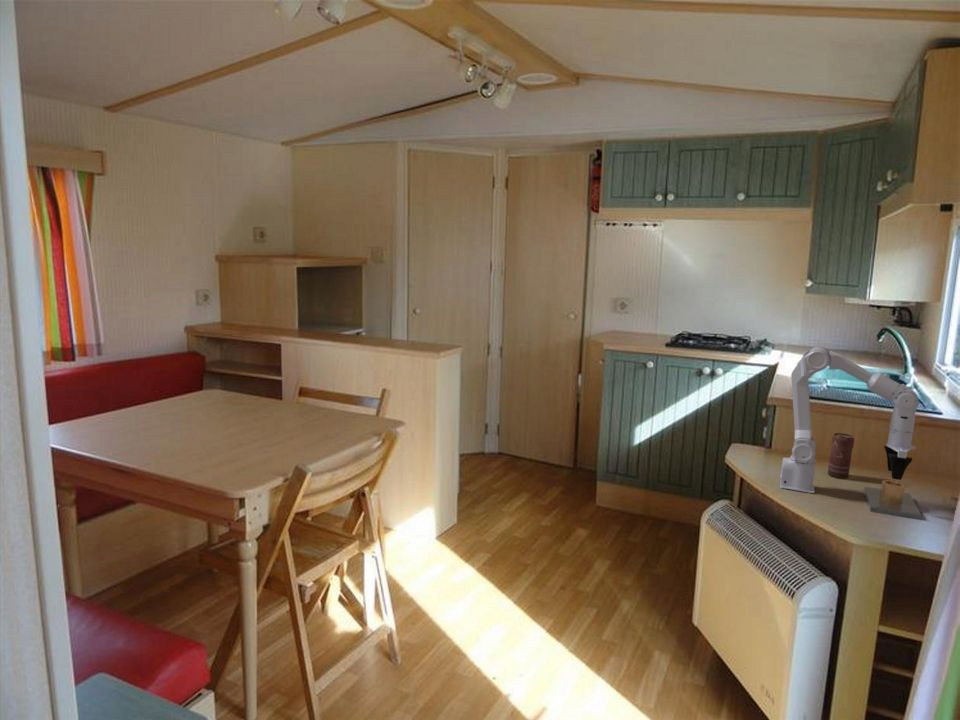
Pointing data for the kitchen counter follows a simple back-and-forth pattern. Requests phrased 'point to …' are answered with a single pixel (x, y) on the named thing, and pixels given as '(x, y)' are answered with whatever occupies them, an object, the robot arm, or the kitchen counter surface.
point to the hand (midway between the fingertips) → (894, 475)
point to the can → (840, 455)
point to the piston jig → (891, 504)
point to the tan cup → (892, 491)
